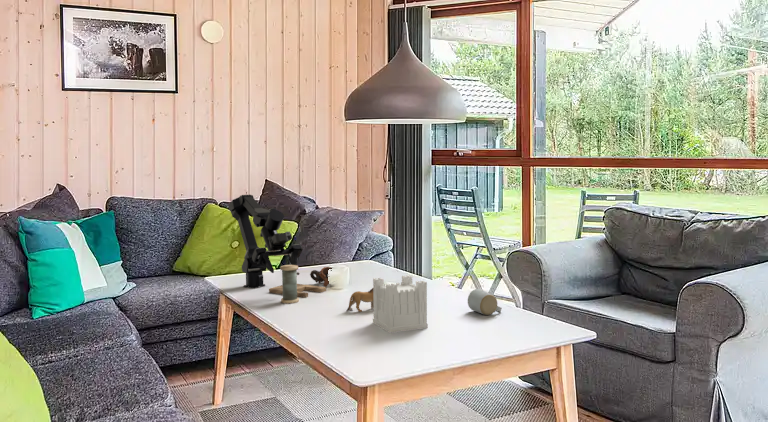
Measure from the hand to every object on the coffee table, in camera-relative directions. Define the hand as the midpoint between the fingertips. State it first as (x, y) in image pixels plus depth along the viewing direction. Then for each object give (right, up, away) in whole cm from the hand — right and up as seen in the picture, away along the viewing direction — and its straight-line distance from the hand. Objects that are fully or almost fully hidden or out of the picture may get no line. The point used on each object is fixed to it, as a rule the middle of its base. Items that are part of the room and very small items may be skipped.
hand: (284, 271), depth 244 cm
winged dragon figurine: (+12, -8, +28) cm, 32 cm away
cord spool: (+2, -11, -2) cm, 11 cm away
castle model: (+43, -14, -36) cm, 57 cm away
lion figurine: (+31, -12, -16) cm, 37 cm away
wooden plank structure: (+3, -9, +14) cm, 17 cm away
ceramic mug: (+71, -12, -21) cm, 75 cm away
